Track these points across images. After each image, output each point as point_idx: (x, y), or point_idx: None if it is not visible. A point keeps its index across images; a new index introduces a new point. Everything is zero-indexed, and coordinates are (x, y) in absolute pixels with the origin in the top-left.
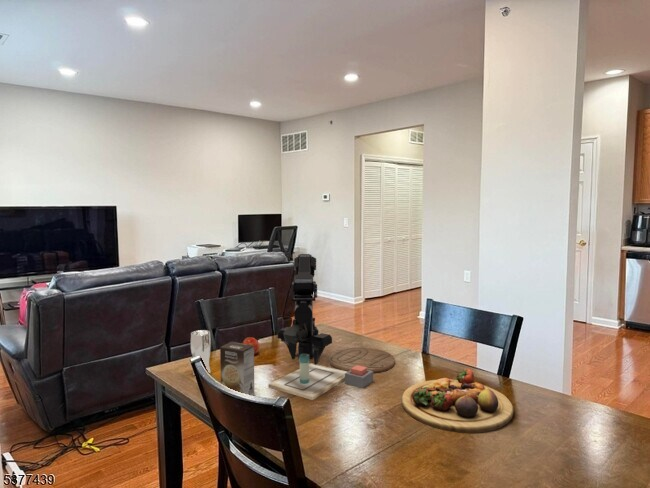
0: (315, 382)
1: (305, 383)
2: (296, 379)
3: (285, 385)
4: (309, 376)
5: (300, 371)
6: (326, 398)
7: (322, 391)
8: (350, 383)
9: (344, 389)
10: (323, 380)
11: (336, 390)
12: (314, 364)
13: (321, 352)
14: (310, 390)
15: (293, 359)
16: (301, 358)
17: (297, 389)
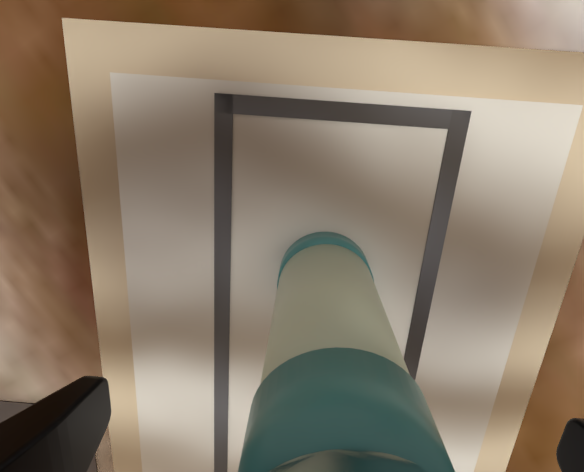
0: (229, 299)
1: (294, 244)
2: (416, 282)
3: (444, 108)
4: None
5: (353, 282)
6: (17, 125)
7: (84, 187)
8: None
9: (26, 329)
10: (200, 360)
11: (59, 290)
12: (100, 377)
13: None
14: (162, 131)
15: (567, 424)
16: (352, 412)
17: (283, 88)
